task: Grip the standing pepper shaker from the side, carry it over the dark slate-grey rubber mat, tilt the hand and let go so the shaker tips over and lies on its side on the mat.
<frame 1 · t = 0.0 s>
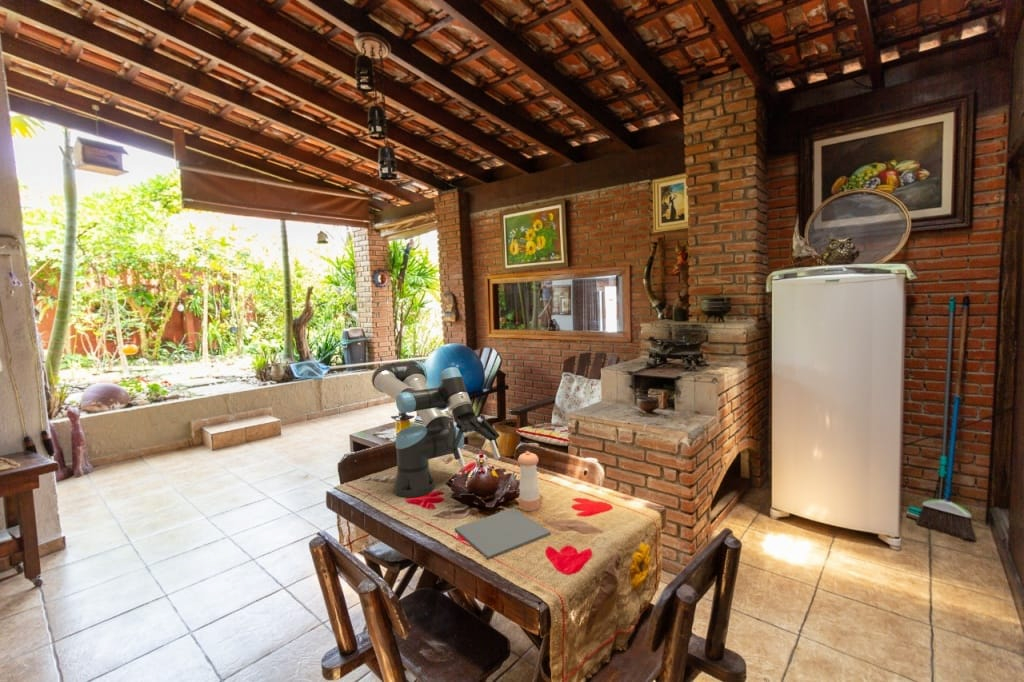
hand: (481, 463, 157), 15 cm above the table, tool tilted 35°, fingers open, 13 cm apart
pepper shaker: (529, 506, 157), on the table
slate mat: (502, 532, 140), on the table
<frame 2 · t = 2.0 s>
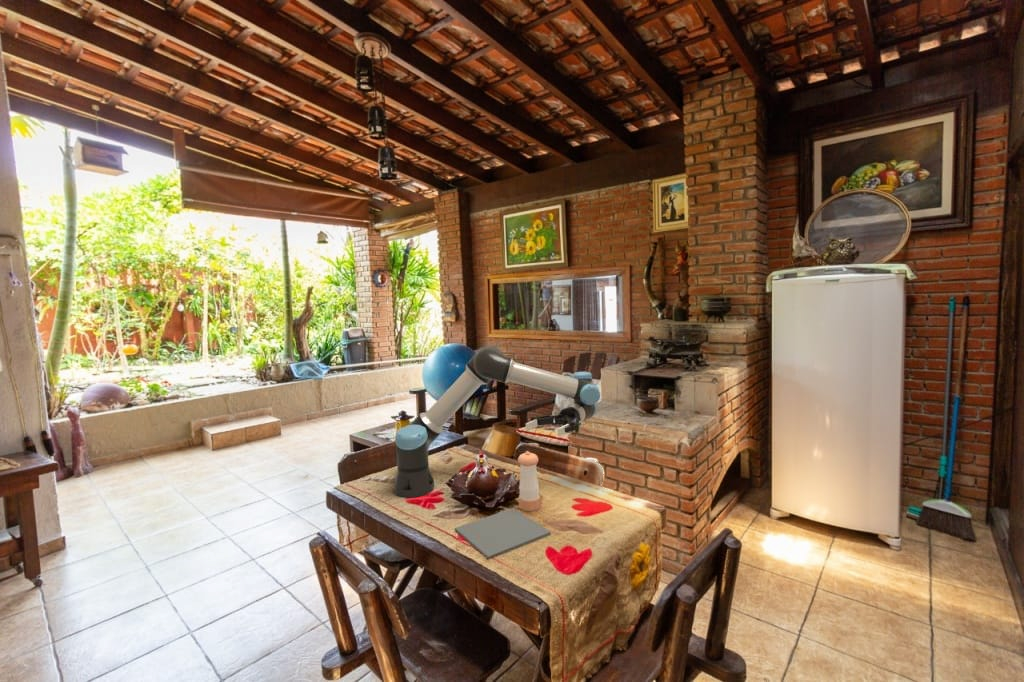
hand: (542, 429, 162), 24 cm above the table, tool horizontal, fingers open, 13 cm apart
nothing on the table moved.
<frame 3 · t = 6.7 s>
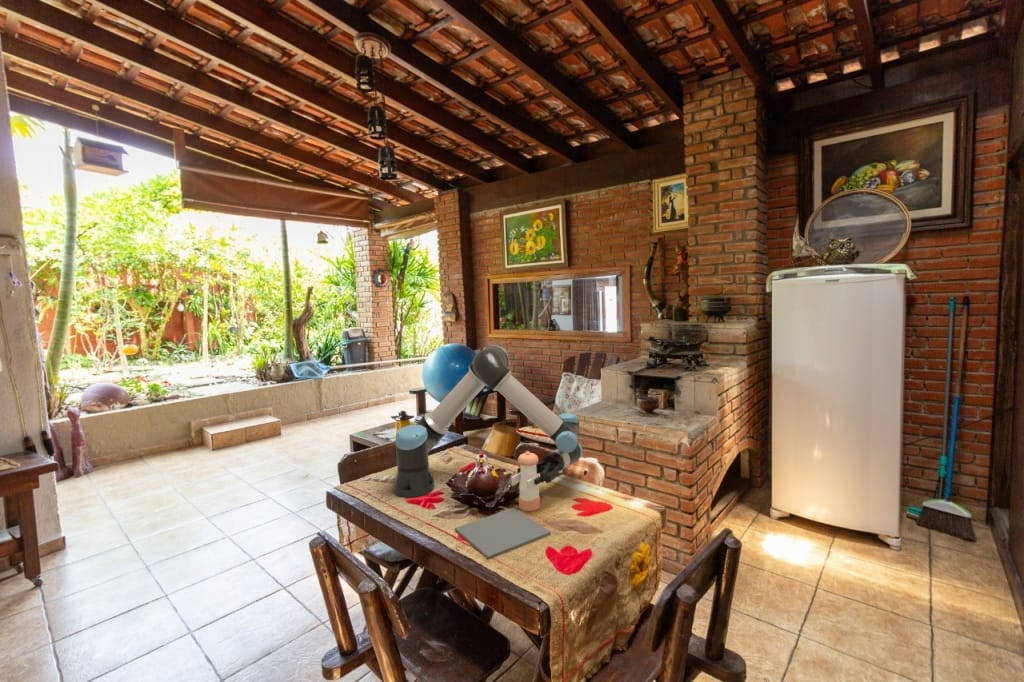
hand: (520, 483, 152), 10 cm above the table, tool horizontal, fingers closed on pepper shaker, 5 cm apart
pepper shaker: (529, 506, 157), on the table, touching gripper
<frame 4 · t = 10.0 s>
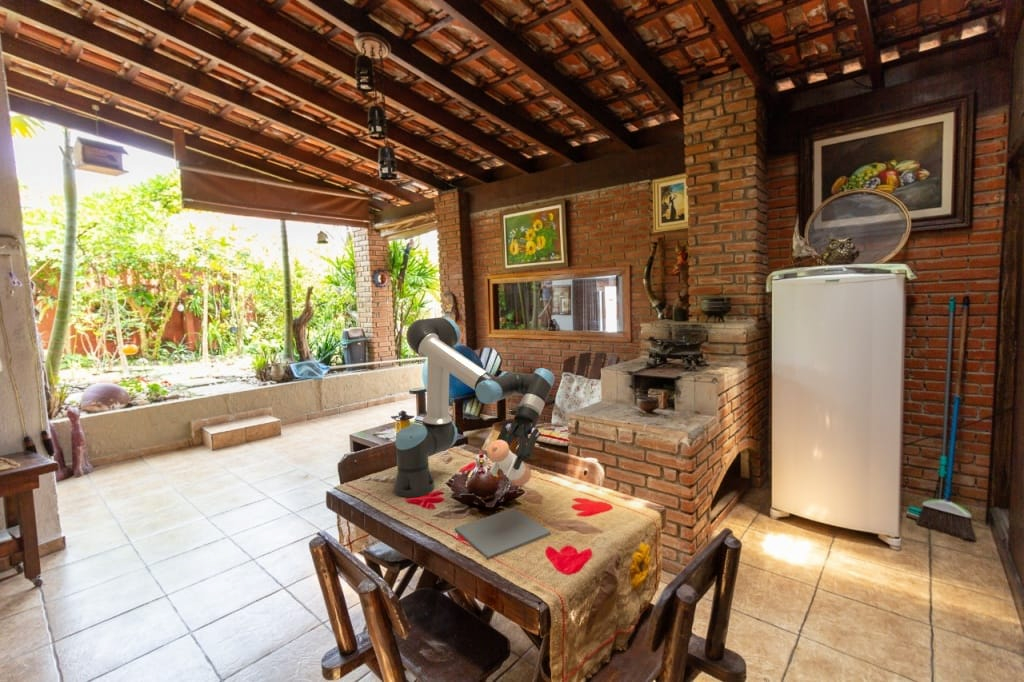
hand: (500, 476, 139), 18 cm above the table, tool tilted 45°, fingers closed on pepper shaker, 5 cm apart
pepper shaker: (521, 475, 148), point 14 cm above the table, touching gripper
when the fingers open (8 cm above the table, at t = 12.2 s): pepper shaker moves 3 cm, resting on slate mat.
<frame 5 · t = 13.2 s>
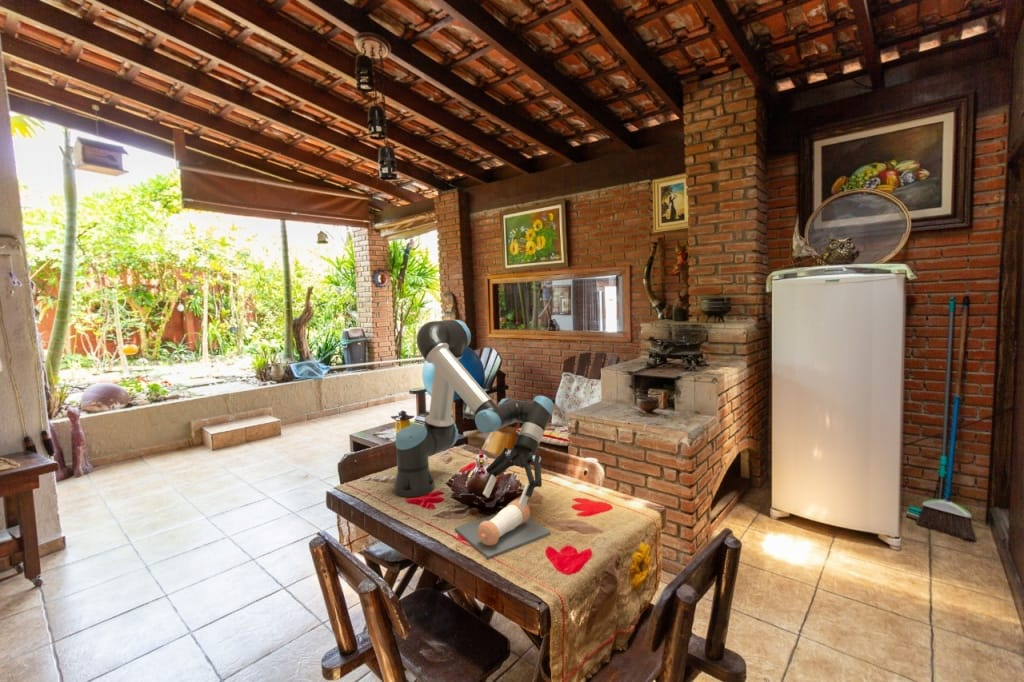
hand: (502, 500, 140), 10 cm above the table, tool tilted 45°, fingers open, 13 cm apart
pepper shaker: (520, 509, 145), point 4 cm above the table, touching slate mat
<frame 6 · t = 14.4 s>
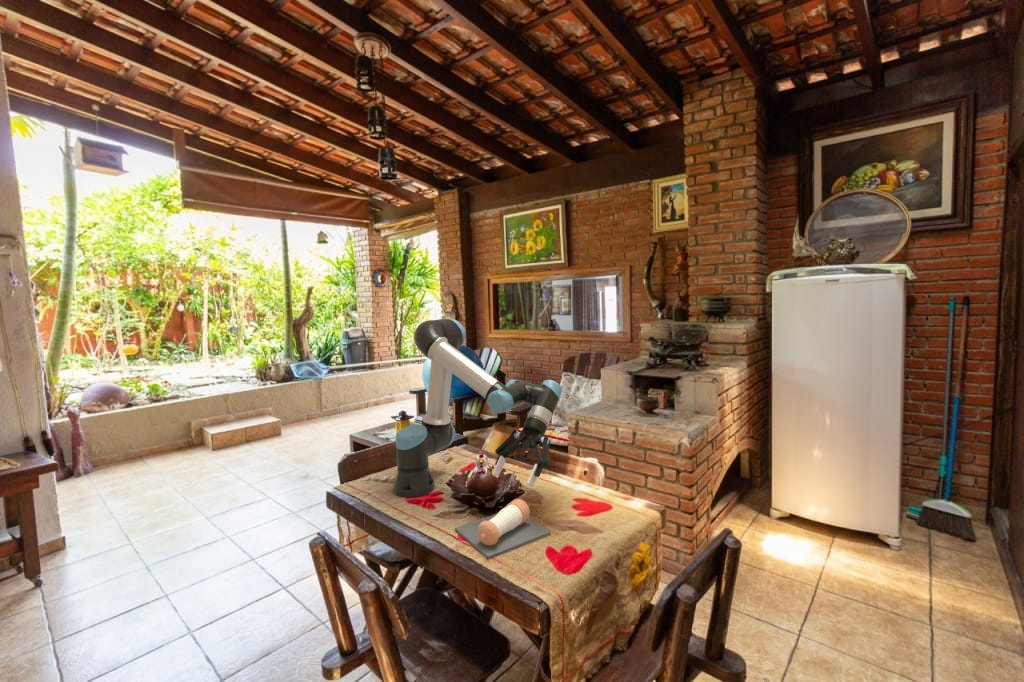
hand: (511, 480, 143), 14 cm above the table, tool tilted 45°, fingers open, 13 cm apart
nothing on the table moved.
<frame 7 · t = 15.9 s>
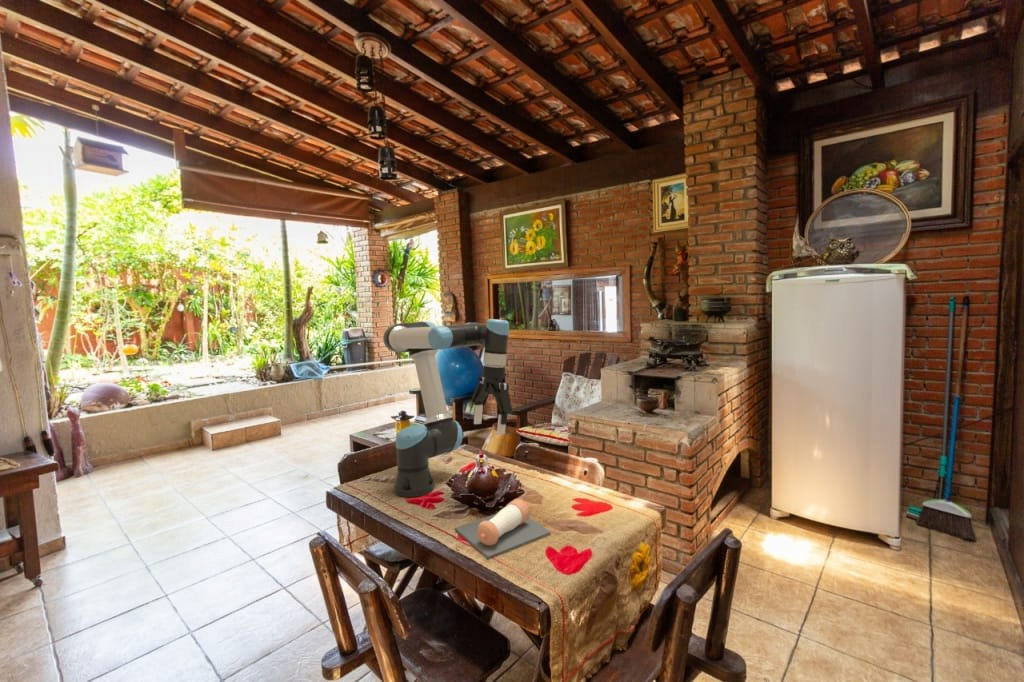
hand: (488, 428, 154), 28 cm above the table, tool pointing down, fingers open, 13 cm apart
nothing on the table moved.
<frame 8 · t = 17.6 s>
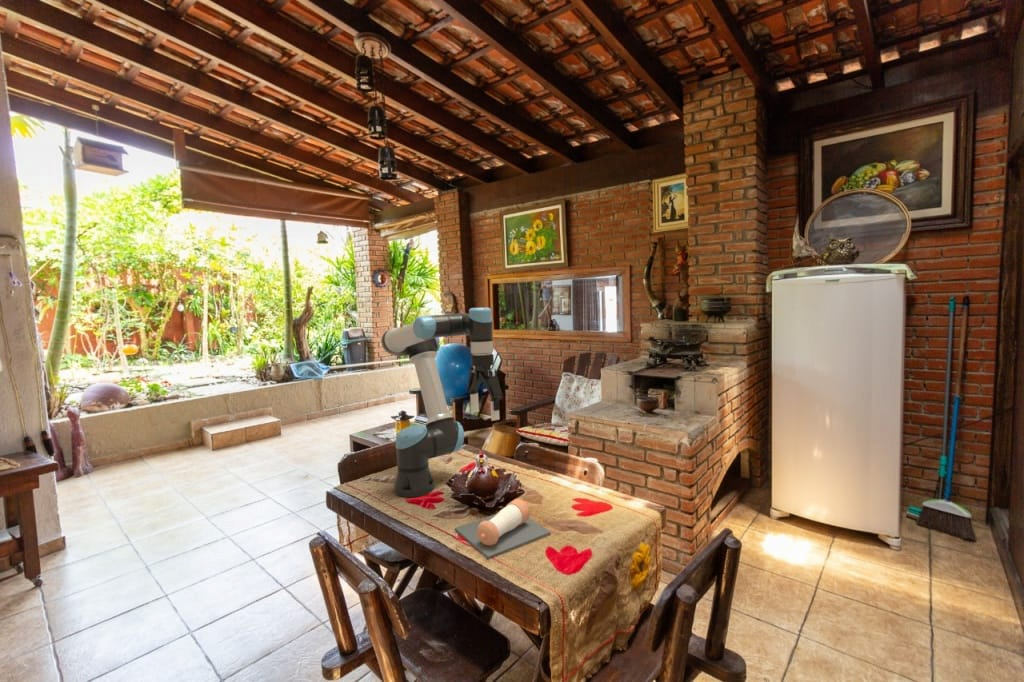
hand: (484, 416, 156), 32 cm above the table, tool pointing down, fingers open, 13 cm apart
nothing on the table moved.
at the end: pepper shaker tilted 90°; pepper shaker touching slate mat; pepper shaker 7.9 cm from the slate mat (horizontally) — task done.
